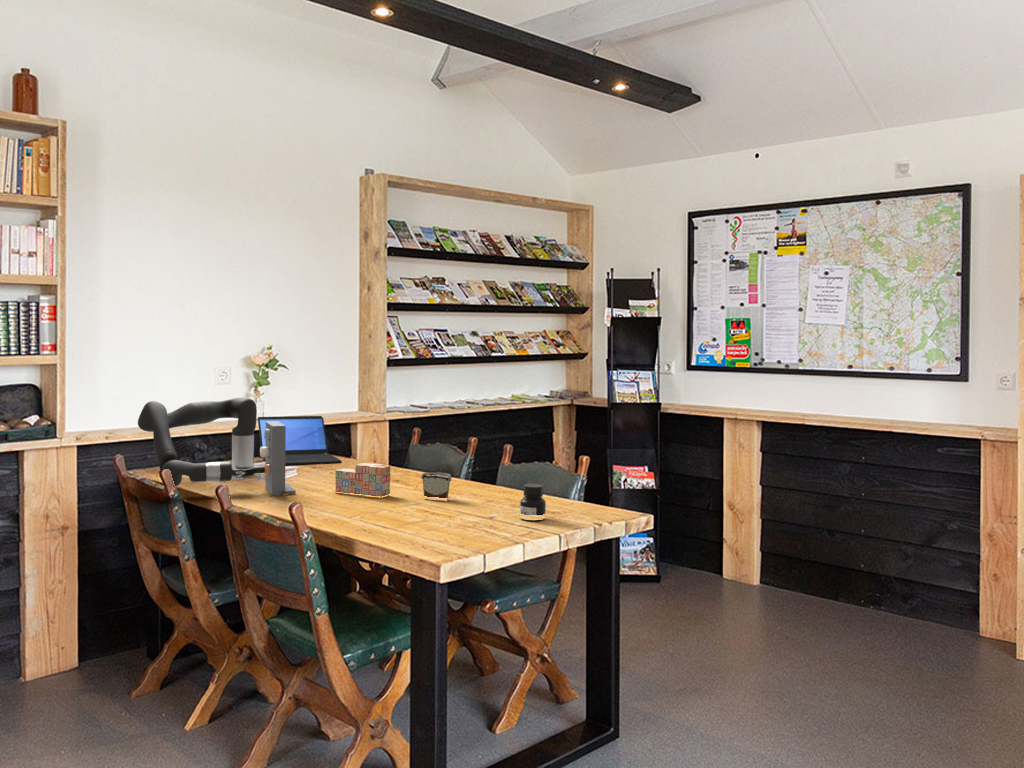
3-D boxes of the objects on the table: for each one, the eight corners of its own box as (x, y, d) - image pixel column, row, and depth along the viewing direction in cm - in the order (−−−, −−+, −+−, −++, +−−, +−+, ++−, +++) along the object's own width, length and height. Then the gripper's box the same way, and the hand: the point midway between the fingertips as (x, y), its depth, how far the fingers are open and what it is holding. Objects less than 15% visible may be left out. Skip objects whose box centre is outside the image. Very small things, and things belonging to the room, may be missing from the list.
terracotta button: (263, 473, 349) (263, 463, 348) (273, 473, 350) (274, 463, 350) (265, 475, 345) (265, 465, 345) (275, 474, 347) (275, 464, 346)
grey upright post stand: (265, 488, 355) (265, 421, 353) (288, 487, 359) (288, 420, 357) (271, 495, 341) (272, 426, 339) (295, 494, 344) (296, 425, 343)
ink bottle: (514, 517, 313) (515, 484, 312) (534, 515, 318) (535, 482, 317) (530, 523, 305) (531, 488, 304) (550, 520, 310) (551, 486, 309)
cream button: (260, 456, 348) (260, 446, 347) (270, 455, 349) (270, 445, 349) (261, 457, 344) (261, 447, 344) (272, 457, 346) (272, 447, 345)
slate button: (263, 438, 348) (263, 428, 347) (274, 438, 349) (274, 428, 349) (265, 439, 344) (265, 429, 344) (275, 439, 346) (276, 429, 345)
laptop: (271, 467, 407) (271, 425, 406) (256, 455, 441) (256, 416, 439) (342, 464, 422) (342, 423, 420) (322, 452, 455) (323, 415, 454)
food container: (456, 499, 343) (456, 473, 343) (450, 502, 337) (450, 476, 337) (427, 496, 347) (427, 471, 347) (420, 499, 342) (421, 473, 341)
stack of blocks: (334, 493, 349) (335, 462, 348) (343, 491, 355) (344, 460, 354) (382, 499, 341) (382, 467, 340) (390, 496, 347) (390, 465, 346)
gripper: (216, 478, 346) (262, 476, 353) (220, 484, 334) (267, 482, 341) (216, 459, 345) (262, 457, 352) (220, 464, 333) (267, 462, 340)
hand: (264, 469), depth 347 cm, fingers closed
